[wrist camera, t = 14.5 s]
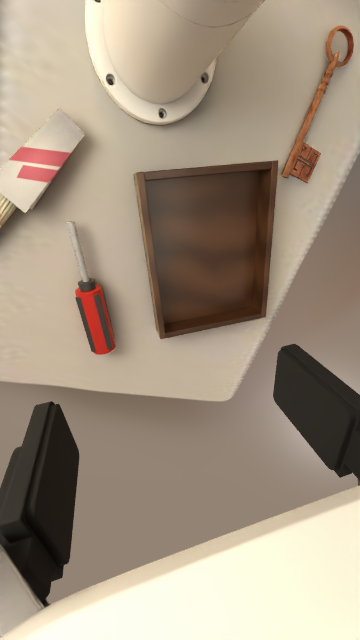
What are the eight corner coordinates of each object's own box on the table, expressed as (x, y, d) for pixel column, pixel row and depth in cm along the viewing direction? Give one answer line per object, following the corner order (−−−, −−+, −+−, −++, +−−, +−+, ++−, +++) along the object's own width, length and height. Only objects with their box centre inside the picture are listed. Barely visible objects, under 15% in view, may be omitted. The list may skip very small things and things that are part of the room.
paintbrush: (88, 138, 25) (-34, 282, 28) (90, 141, 27) (-22, 274, 31) (52, 97, 23) (-74, 257, 26) (57, 105, 25) (-58, 251, 29)
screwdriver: (60, 221, 30) (50, 225, 27) (87, 218, 30) (81, 221, 27) (95, 343, 38) (90, 356, 35) (116, 340, 38) (114, 352, 35)
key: (301, 187, 36) (364, 51, 30) (306, 187, 35) (371, 48, 30) (271, 170, 33) (333, 19, 28) (275, 170, 32) (340, 14, 27)
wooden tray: (133, 174, 30) (136, 172, 27) (263, 162, 33) (278, 160, 30) (156, 328, 39) (160, 339, 37) (255, 308, 42) (266, 317, 40)
